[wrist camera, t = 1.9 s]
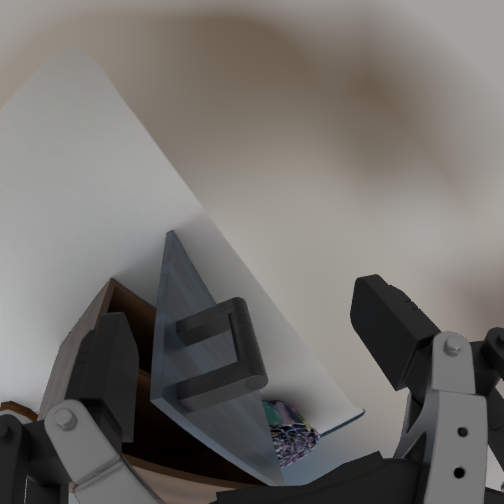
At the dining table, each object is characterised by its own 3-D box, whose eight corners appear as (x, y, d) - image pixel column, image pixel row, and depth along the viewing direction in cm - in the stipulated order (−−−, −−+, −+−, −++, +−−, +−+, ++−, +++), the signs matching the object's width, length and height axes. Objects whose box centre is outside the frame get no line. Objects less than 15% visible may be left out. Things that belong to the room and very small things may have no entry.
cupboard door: (216, 209, 36) (255, 365, 15) (283, 346, 49) (331, 474, 28) (166, 233, 36) (149, 401, 16) (246, 361, 49) (280, 491, 28)
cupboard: (111, 277, 38) (66, 439, 17) (245, 362, 49) (279, 493, 28) (60, 345, 41) (25, 473, 20) (180, 408, 53) (190, 521, 32)
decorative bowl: (168, 423, 58) (167, 462, 49) (267, 374, 51) (277, 421, 43) (242, 451, 70) (247, 482, 61) (332, 412, 63) (343, 446, 55)
